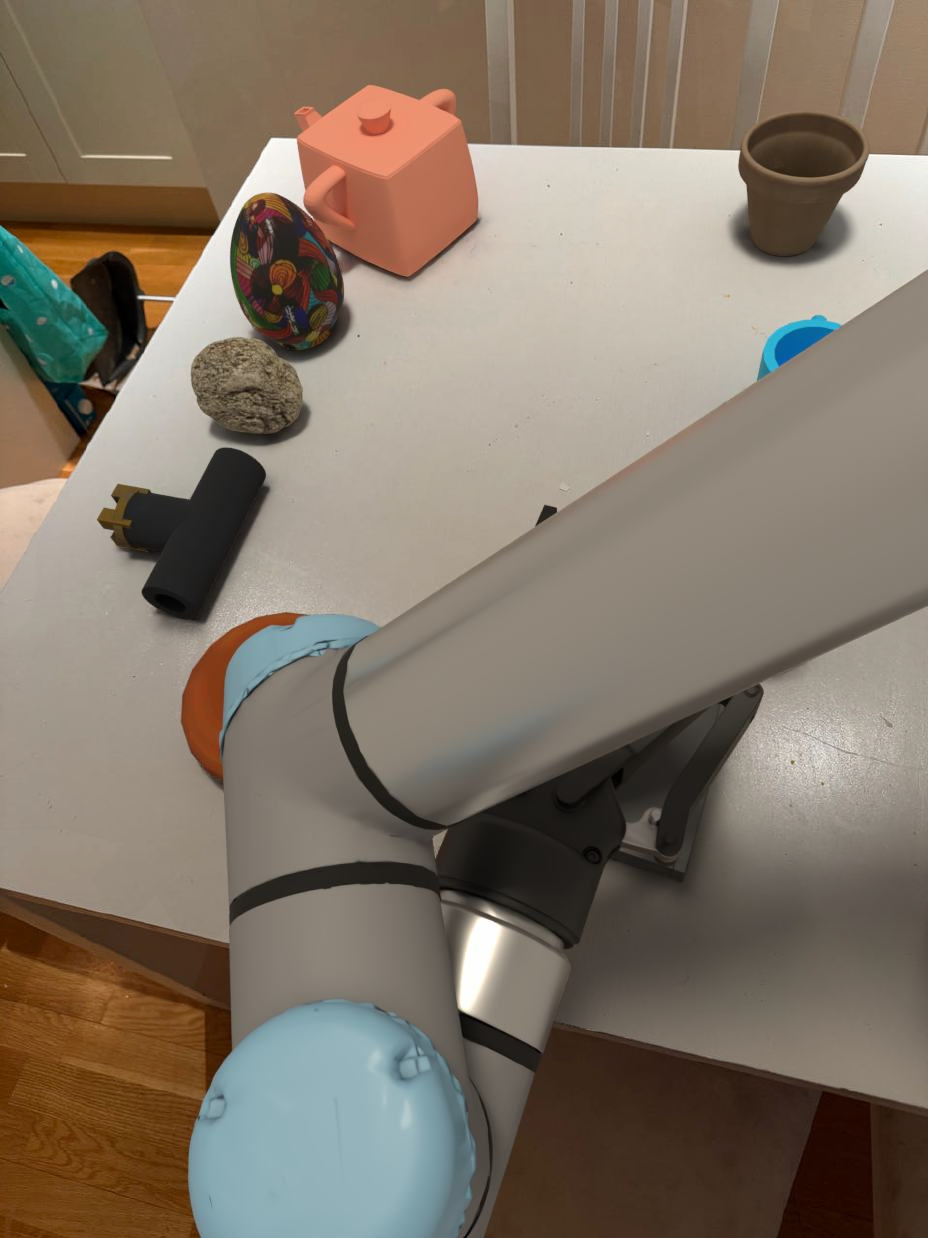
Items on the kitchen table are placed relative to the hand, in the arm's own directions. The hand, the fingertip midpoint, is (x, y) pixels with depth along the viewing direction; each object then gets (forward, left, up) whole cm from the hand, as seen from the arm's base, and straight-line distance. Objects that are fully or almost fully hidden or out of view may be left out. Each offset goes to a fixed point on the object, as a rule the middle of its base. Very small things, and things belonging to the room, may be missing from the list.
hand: (638, 541), depth 50 cm
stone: (+42, -17, -20) cm, 49 cm away
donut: (+25, +10, -20) cm, 34 cm away
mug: (-6, -32, -20) cm, 38 cm away
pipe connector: (+42, -2, -20) cm, 46 cm away
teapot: (+43, -48, -20) cm, 67 cm away
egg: (+44, -30, -20) cm, 57 cm away
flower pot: (0, -55, -20) cm, 59 cm away
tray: (0, +5, -20) cm, 21 cm away
